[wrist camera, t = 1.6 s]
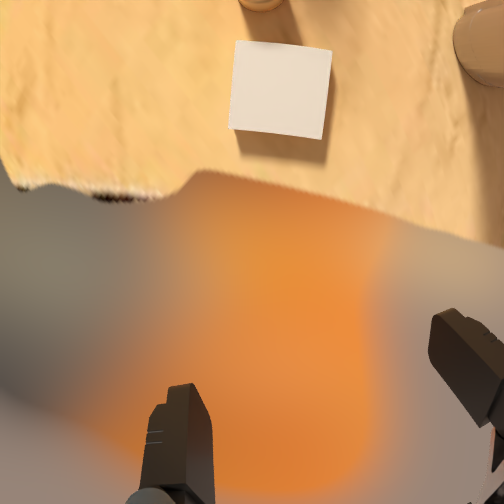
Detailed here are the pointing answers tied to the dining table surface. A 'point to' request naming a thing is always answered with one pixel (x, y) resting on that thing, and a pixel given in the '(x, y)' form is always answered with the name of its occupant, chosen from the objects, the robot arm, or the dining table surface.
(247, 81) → the white base
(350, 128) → the dining table surface
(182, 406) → the robot arm
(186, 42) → the dining table surface
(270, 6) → the ochre cylinder
